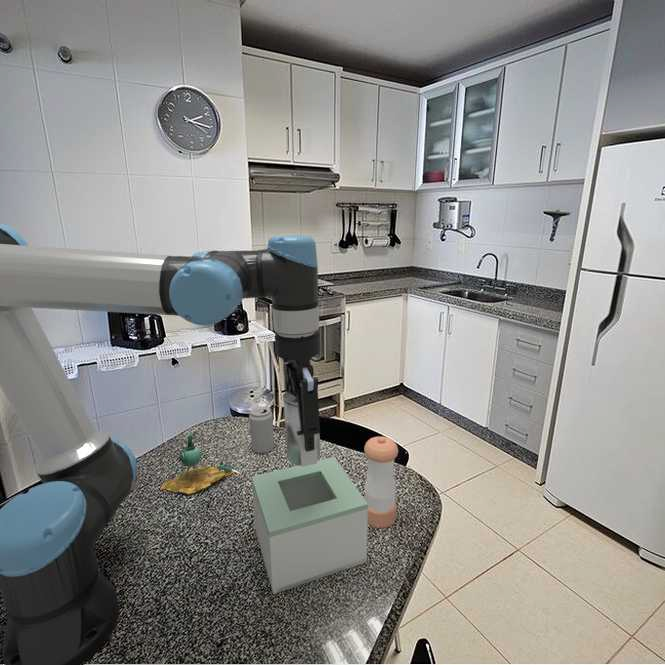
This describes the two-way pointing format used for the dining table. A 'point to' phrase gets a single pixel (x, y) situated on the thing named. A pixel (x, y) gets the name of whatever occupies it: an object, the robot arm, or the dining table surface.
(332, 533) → the caddy
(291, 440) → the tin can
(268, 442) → the beverage can
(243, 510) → the dining table surface
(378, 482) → the pepper shaker
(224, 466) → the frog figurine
